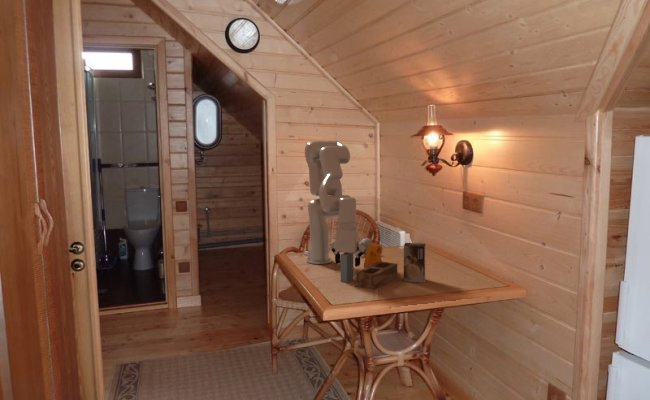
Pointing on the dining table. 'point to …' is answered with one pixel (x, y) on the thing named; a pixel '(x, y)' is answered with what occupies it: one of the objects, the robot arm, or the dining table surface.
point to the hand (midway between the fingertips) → (347, 264)
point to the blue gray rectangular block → (347, 267)
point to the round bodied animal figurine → (365, 244)
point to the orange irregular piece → (373, 254)
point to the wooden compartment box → (376, 275)
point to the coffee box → (414, 262)
